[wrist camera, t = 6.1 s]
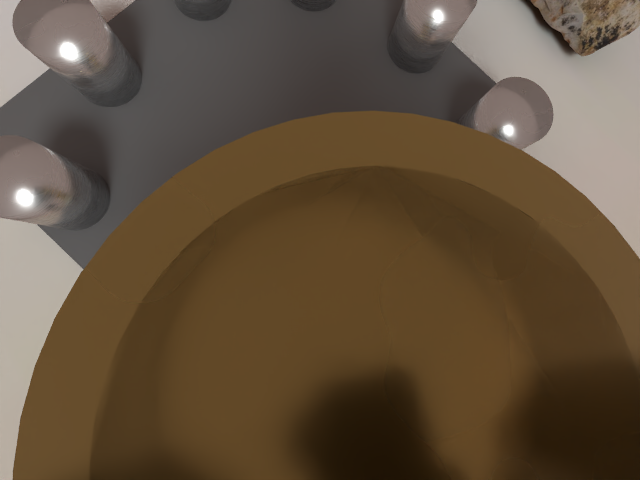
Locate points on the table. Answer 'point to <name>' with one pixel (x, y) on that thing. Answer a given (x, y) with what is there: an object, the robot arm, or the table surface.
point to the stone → (590, 21)
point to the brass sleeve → (347, 320)
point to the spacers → (126, 79)
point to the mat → (227, 92)
